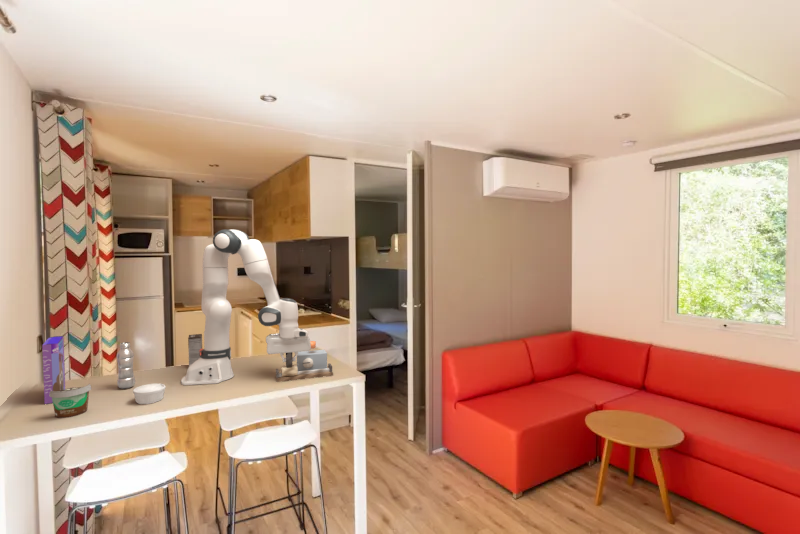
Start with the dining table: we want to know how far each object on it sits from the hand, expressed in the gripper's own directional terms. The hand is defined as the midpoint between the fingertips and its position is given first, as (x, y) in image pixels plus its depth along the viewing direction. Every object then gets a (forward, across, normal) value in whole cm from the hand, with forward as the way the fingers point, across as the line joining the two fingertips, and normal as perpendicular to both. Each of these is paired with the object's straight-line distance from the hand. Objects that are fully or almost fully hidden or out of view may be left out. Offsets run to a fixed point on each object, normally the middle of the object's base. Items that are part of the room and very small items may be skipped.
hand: (289, 361), depth 193 cm
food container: (+8, -80, -16) cm, 82 cm away
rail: (+8, +7, 0) cm, 11 cm away
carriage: (+6, 0, 0) cm, 6 cm away
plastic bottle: (+8, -69, +12) cm, 71 cm away
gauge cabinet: (+8, +12, +10) cm, 17 cm away
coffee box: (+8, -44, +40) cm, 60 cm away
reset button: (-4, +12, +10) cm, 16 cm away
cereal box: (+8, -94, +10) cm, 94 cm away
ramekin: (+8, -56, -8) cm, 57 cm away
